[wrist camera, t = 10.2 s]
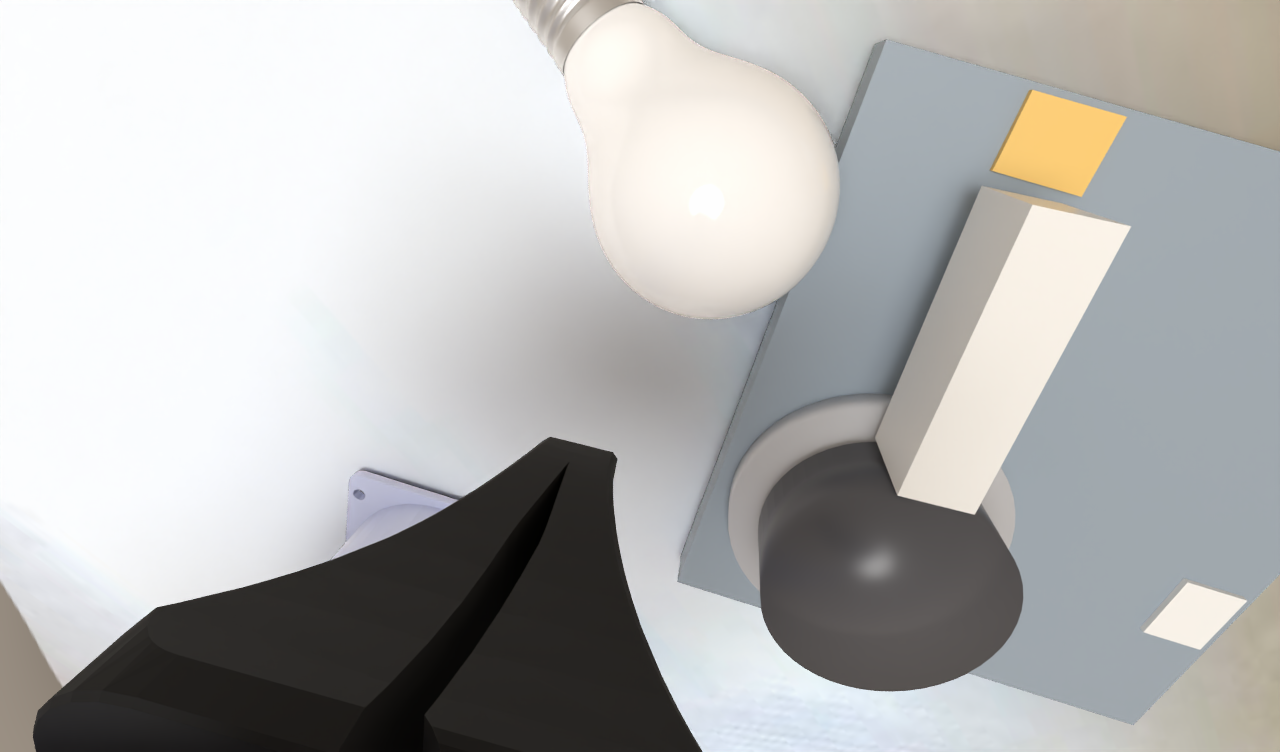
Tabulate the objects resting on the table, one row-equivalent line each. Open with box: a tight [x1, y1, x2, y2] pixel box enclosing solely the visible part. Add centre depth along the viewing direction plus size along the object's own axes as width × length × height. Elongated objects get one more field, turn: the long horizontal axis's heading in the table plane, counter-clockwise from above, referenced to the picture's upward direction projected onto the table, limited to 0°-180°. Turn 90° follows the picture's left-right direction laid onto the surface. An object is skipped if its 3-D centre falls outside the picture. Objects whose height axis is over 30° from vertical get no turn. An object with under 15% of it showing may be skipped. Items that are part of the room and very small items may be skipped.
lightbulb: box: [513, 0, 840, 319], centre depth 16 cm, size 6×6×11 cm
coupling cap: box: [758, 186, 1131, 691], centre depth 17 cm, size 14×7×3 cm, turn 169°
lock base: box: [677, 39, 1280, 725], centre depth 20 cm, size 19×18×2 cm
